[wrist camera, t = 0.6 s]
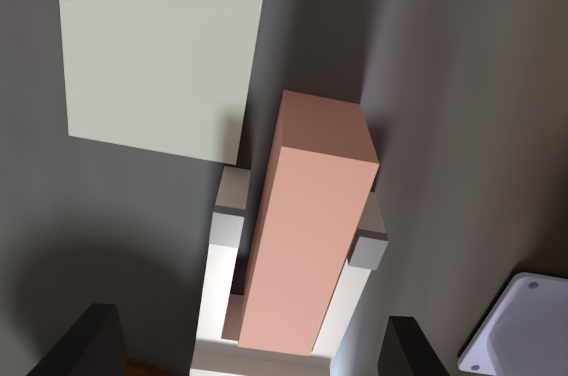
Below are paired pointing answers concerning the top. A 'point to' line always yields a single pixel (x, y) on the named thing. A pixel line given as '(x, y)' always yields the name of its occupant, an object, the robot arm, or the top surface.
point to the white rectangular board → (160, 73)
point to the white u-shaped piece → (228, 307)
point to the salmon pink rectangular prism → (305, 220)
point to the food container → (144, 369)
